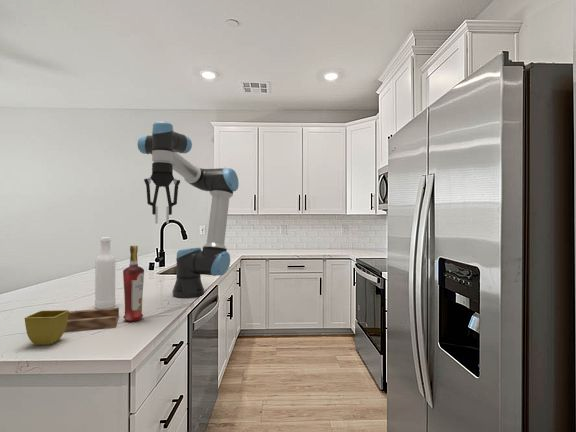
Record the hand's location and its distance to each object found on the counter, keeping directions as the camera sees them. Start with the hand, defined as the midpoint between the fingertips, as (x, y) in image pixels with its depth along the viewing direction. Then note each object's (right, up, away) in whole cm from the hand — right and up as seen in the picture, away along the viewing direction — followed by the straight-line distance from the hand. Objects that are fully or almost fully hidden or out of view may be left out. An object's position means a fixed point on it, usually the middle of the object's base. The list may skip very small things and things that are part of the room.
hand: (162, 223), depth 141 cm
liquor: (-10, -37, -4) cm, 38 cm away
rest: (-26, -36, -10) cm, 46 cm away
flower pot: (-26, -37, -28) cm, 53 cm away
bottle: (-30, -36, +15) cm, 50 cm away
